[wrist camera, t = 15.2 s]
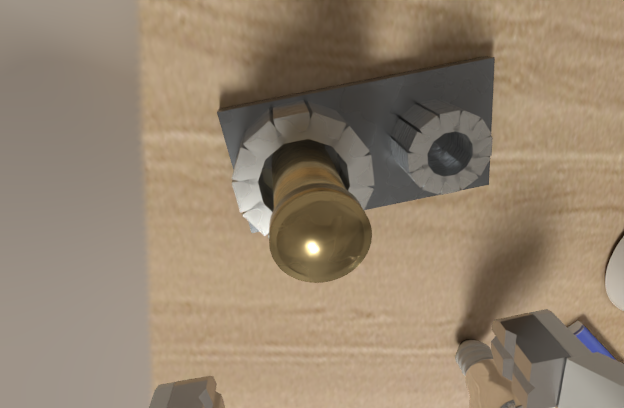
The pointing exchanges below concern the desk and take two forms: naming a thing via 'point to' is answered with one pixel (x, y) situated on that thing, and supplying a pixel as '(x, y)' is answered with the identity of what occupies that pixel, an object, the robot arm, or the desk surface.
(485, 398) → the light bulb
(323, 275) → the brass fitting
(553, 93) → the desk surface
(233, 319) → the desk surface
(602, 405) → the robot arm
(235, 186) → the manifold plate
